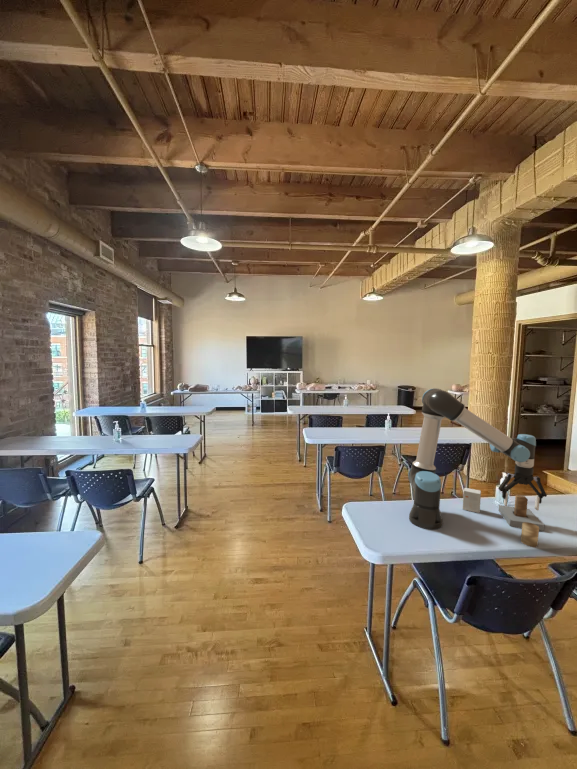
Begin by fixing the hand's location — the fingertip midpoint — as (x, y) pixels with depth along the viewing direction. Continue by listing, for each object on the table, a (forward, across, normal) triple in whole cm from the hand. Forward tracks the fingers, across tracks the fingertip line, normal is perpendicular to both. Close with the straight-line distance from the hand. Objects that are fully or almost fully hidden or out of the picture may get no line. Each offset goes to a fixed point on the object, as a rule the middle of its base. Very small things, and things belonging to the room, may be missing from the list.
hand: (520, 507), depth 169 cm
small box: (+7, -21, +5) cm, 23 cm away
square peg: (+7, 0, 0) cm, 7 cm away
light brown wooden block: (+7, -4, -24) cm, 25 cm away
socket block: (+7, 0, 0) cm, 7 cm away
